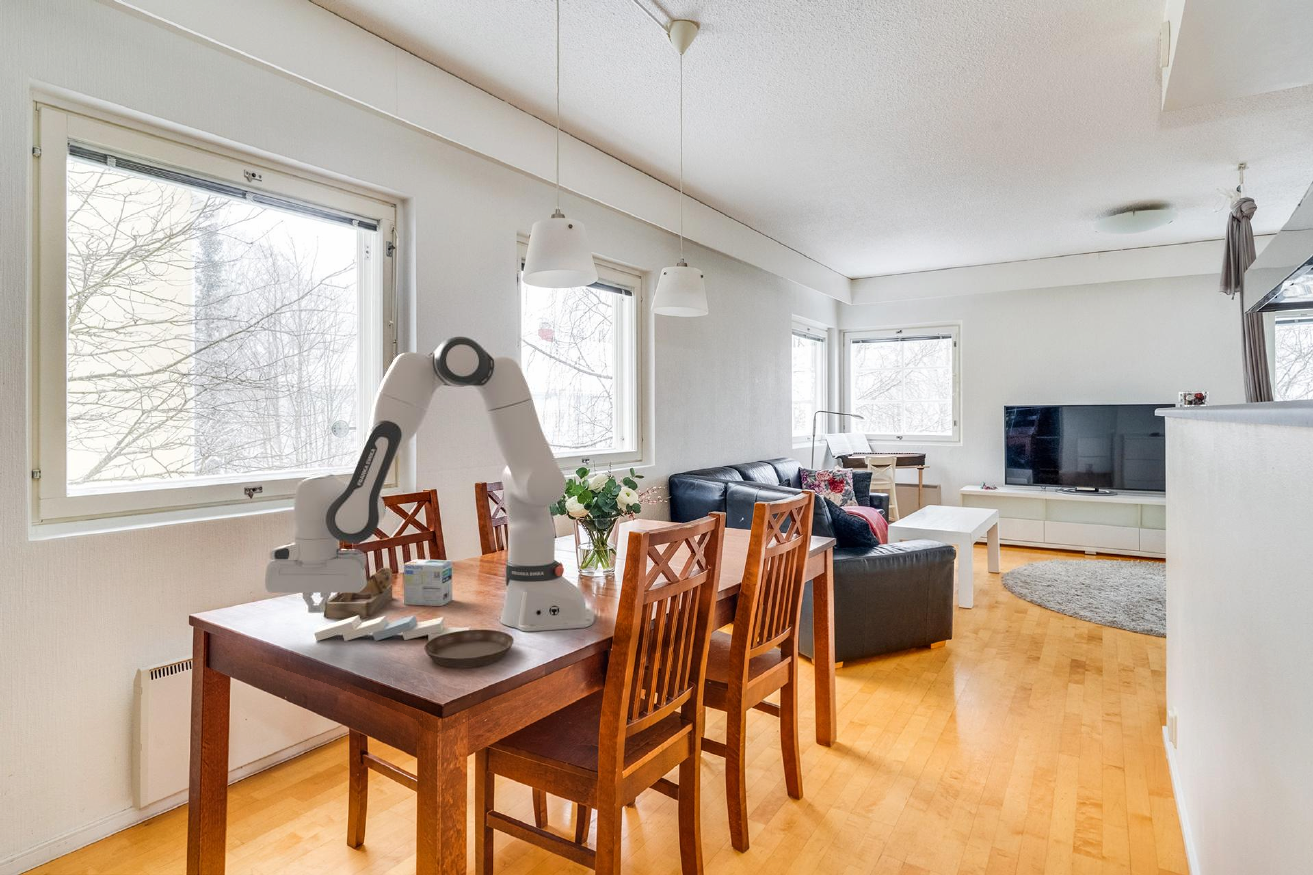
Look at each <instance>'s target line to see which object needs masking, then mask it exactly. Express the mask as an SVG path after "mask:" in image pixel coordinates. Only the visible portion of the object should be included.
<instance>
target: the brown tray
mask: <svg viewBox="0 0 1313 875" xmlns="http://www.w3.org/2000/svg"><path fill="white" fill-rule="evenodd" d="M340 594H341V593H340ZM339 598H340V595H339ZM339 598H338V596H337V593H334V595H333V596H330V597H329V599H328V600H327V602H326V603H325V611H324V612H323V618H326V619H339V618H340V619H348V618H351V617H355V616H358V615H359V617H360V619H361V618H362V619H363V618H364V619H366V618H367V617H369V618H370V617H373V615H374V614H376V613H377V612H378V611H379V610H380V609H381V608H382V607H384V606H385V605H386V604H387V603H388V602H389V601H391V599H393V584H390V585H389V586H388V587H387V589H386V590H385V591H384V592H380V593H379V594H376V595H375V596H374V597H373V598H371V594H364V595H362V594H358V593H353V594H352V596H351V599H350V602H345V601H346V596H345V597H344V598H343V599H342V600H341V601H339ZM353 599H369V600H368V601H365V602H364V601H359V602H358V601H356V602H355V601H351V600H353Z"/></svg>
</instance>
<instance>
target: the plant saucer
mask: <svg viewBox="0 0 1313 875" xmlns="http://www.w3.org/2000/svg"><path fill="white" fill-rule="evenodd" d="M514 641H515V640H514V637H513V636H512V635H510V634H509V633H507V632H503V631H500V630H493V629H470V630H464V631H457V632H452V633H447V634H443V635H440V636H438V637H435V638H433V639H431V640H427V642H426V643H425V644H424V647H423V649H424V651H425V653H426V655H427V656H428V657H429V658H430V659H431V660H432V661H433V662H434V663H436V664H438V665H439V666H442V667H447V668H453V669H454V668H455V669H467V668H475V667H476V668H477V667H482V666H486V665H490V664H493V663H496V662H497V661H499V660H501V659H503V657H505V655H506V654H507V653H508V652H509V651H510V649H511V648H512V645H513V644H514Z"/></svg>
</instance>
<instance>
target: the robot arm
mask: <svg viewBox="0 0 1313 875" xmlns="http://www.w3.org/2000/svg"><path fill="white" fill-rule="evenodd" d="M441 386H448V387H455V388H462V387H463V388H464V387H467V386H469V387H470V386H473V387H474V388H476V390H477V391H478V393H479V394H480V396H481V398H482V402H483V403H484V404H483V405H484V409H485V411H486V416H487V418H488V421H489V425H490V428H491V431H492V434H493V438H494V441H495V444H496V446H497V447H498V448H499V450H500V452H501V454H502V456H503V458H504V460H505V464H506V465H505V466H504V468H503V470H502V473H501V483H502V488H503V497H504V498H503V499H504V506H505V507H504V508H505V514H506V520H507V522H506V523H507V531H508V532H507V538H508V539H507V560H506V564H505V585H506V591H505V598H504V604H503V609H502V613H501V617H500V619H499V621H500V622H501V624H503V625H505V626H508V627H512V628H515V629H517V630H520V631H522V632H537V631H552V630H565V629H566V630H568V629H578V628H579V629H582V628H588V627H589V626H591V625H593V624H594V622H595V619H596V618H595V612H594V611H593V610H592V609H590V608H588V607H587V606H586V600H585V597H584V594H583V592H582V590H581V589H580V588H579V587H578V586H576V585H574V584H573V583H572V582H570V581H569V580H568V579H567V578H566V577H564V576H563V574H564V571H565V568H564V565H563V564H562V562H561V561H560V562H559V561H557V560H556V559H555V554H556V553H555V546H556V545H555V541H556V538H555V537H556V536H555V535H556V530H555V529H556V528H555V525H554V522H553V519H552V514H551V508H550V506H553V505H555V504H557V503H558V502H560V501H561V499H562V498H563V497H564V495H565V493H566V489H567V480H566V477H565V474H564V473H563V472H562V470H561V468H560V467H559V464H558V463H557V460H556V459H555V456H554V453H553V450H552V449H551V447H550V445H549V443H548V440H547V438H546V437H545V434H544V432H543V429H542V426H541V424H540V420H539V416H538V413H537V411H536V407H535V404H534V400H533V398H532V396H533V395H532V393H531V391H530V388H529V385H528V383H527V380H526V378H525V376H524V374H523V371H522V370H521V368H520V366H519V364H518V363H517V361H515V360H514V359H513V358H511V357H510V358H509V357H505V356H504V357H503V356H499V357H492V355H490V354H489V353H488V352H487V351H486V350H485V349H484V348H483V347H482V345H480V344H479V343H478V342H476V341H475V340H473V339H471V338H469V337H466V336H453V337H451V338H448V339H446V340H444V341H442V342H441V343H440V344H439V345H438V346H437V348H436V349H435V350H433V352H431V353H430V354H428V355H425V354H421V353H419V352H411V351H410V352H409V351H408V352H407V351H406V352H403V353H400V354H399V355H397V356H396V357H395V359H393V362H392V363H391V365H390V366H389V368H388V370H387V372H386V373H385V376H384V377H383V380H382V381H381V383H380V386H379V388H378V391H377V392H376V395H375V399H374V400H373V402H374V403H373V405H372V409H371V413H370V418H369V423H368V428H367V434H366V439H365V442H364V446H363V449H362V452H361V454H360V456H359V459H358V461H357V464H356V466H355V469H354V471H353V473H352V475H351V477H350V478H351V479H350V481H349V483H348V482H346V481H344V480H342V479H340V477H338V475H336V474H332V473H328V474H319V475H314V476H310V477H306V478H304V479H302V480H301V481H300V482H299V483H297V486H296V489H295V494H294V503H293V504H294V506H293V517H294V521H295V531H294V534H293V541H291V542H288V543H286V544H284V545H280V546H277V547H275V548H273V549H271V550H270V551H269V553H268V555H269V559H270V560H271V561H270V562H268V564H267V566H266V570H265V577H264V578H265V579H264V588H265V590H266V591H267V592H268V593H269V594H285V593H286V594H287V593H288V594H292V593H293V594H300V593H301V594H302V599H303V600H304V602H305V603H306V605H307V606H308V608H307V609H308V610H307V611H308V612H307V613H309V614H315V613H316V614H324V611H325V603H326V602H327V600H328V599H330V598H331V595H332V593H333V594H337V593H357V592H360V591H362V590H363V589H364V588H365V587H366V584H367V580H366V579H367V572H366V567H367V555H366V554H365V553H364V552H363V551H361V550H360V549H356V548H353V549H347V548H340V542H341V543H345V544H359V543H362V542H365V541H366V540H368V539H370V538H371V537H372V536H373V535H374V534H375V532H376V530H377V528H378V527H379V525H380V524H381V522H382V521H383V520H384V517H385V514H386V503H385V501H384V499H383V498H382V496H381V495H380V494H381V492H382V490H383V486H384V484H385V482H386V479H387V477H388V475H389V474H388V473H389V471H390V469H391V466H392V464H393V462H394V460H395V458H396V457H397V455H398V454H399V453H400V451H401V450H402V449H403V448H404V447H405V445H407V443H409V442H410V441H411V439H413V437H415V435H416V434H417V432H418V431H419V429H420V427H421V425H422V423H423V421H424V419H425V416H426V414H427V412H428V409H429V406H430V403H431V400H432V399H433V396H434V394H435V393H436V391H437V390H438V388H440V387H441ZM317 593H318V594H320V595H319V596H320V598H322V599H321V601H320V602H315V601H314V598H313V597H312V596H314V594H317Z"/></svg>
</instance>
